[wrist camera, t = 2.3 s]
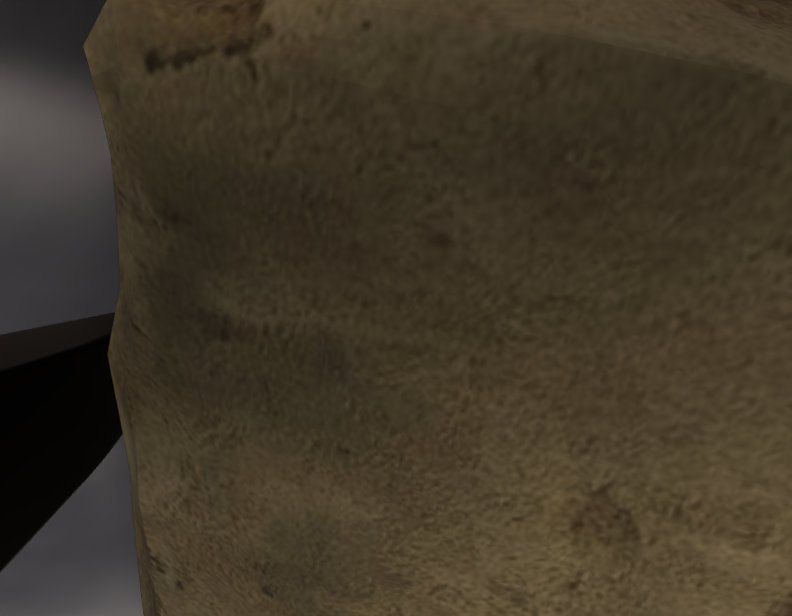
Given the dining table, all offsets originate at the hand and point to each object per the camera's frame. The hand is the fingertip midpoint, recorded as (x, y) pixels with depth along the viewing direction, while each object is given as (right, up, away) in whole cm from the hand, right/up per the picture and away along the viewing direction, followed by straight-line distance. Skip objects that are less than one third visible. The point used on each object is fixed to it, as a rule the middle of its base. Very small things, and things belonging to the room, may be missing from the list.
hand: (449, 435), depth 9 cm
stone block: (+1, +1, +1) cm, 2 cm away
